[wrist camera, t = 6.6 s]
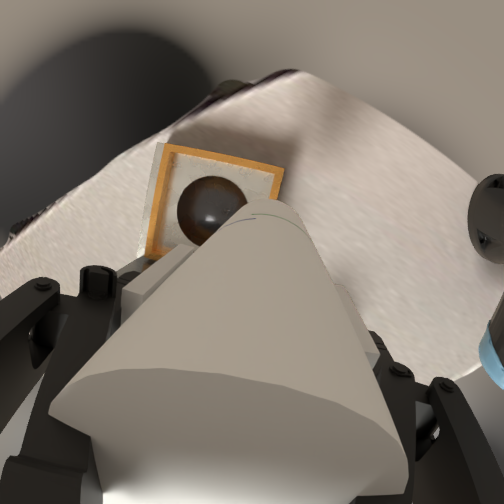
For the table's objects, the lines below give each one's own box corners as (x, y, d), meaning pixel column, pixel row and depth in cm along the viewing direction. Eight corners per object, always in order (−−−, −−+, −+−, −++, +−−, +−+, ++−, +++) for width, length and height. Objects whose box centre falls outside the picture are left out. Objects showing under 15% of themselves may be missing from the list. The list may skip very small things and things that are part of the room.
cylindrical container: (217, 211, 28) (-8, 374, 4) (294, 189, 27) (412, 306, 3) (240, 283, 30) (150, 549, 6) (313, 264, 29) (397, 535, 5)
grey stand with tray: (284, 169, 43) (285, 164, 26) (248, 310, 49) (230, 375, 32) (166, 144, 44) (104, 131, 27) (142, 279, 49) (84, 325, 32)
